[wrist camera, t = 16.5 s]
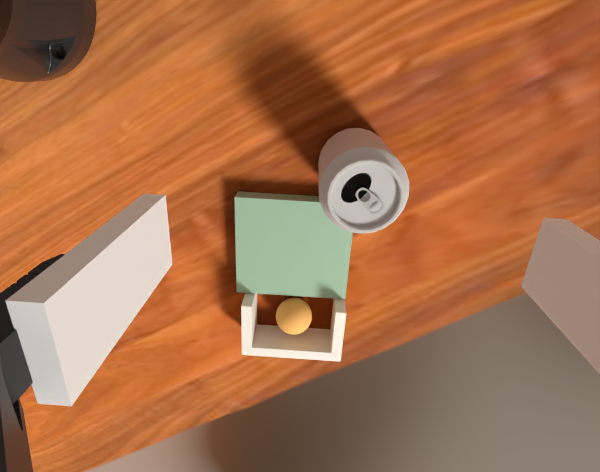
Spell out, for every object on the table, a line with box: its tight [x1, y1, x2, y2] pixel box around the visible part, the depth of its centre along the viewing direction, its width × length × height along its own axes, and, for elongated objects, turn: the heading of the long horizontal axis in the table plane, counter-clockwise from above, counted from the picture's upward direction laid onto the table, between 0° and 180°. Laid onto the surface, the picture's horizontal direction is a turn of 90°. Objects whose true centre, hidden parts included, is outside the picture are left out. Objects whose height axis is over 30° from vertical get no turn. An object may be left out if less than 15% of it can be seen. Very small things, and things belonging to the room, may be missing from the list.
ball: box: [276, 298, 312, 335], centre depth 47 cm, size 4×4×4 cm
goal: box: [241, 293, 346, 361], centre depth 48 cm, size 12×7×4 cm, turn 87°
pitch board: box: [234, 191, 353, 299], centre depth 45 cm, size 13×12×2 cm
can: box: [318, 128, 409, 233], centre depth 36 cm, size 8×8×12 cm
